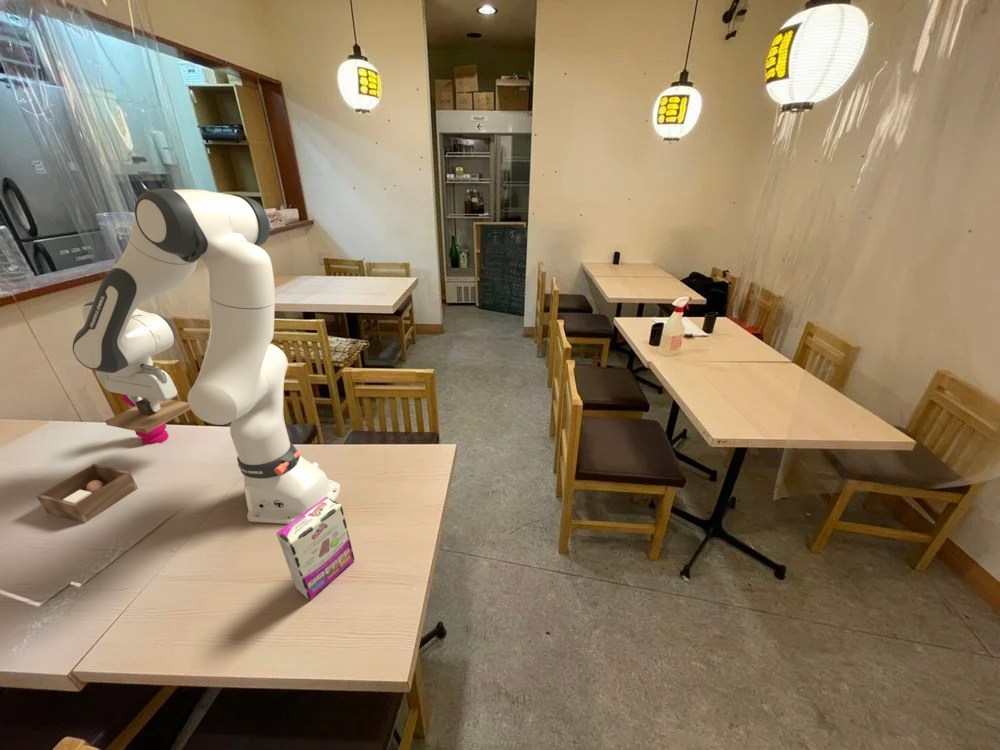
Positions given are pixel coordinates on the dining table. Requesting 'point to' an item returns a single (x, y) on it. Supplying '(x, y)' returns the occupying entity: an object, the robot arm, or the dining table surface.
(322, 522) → the candy bar box
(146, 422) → the lid
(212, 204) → the robot arm
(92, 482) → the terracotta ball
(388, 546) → the dining table surface
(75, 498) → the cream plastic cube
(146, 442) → the pepper mill
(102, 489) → the walnut box
